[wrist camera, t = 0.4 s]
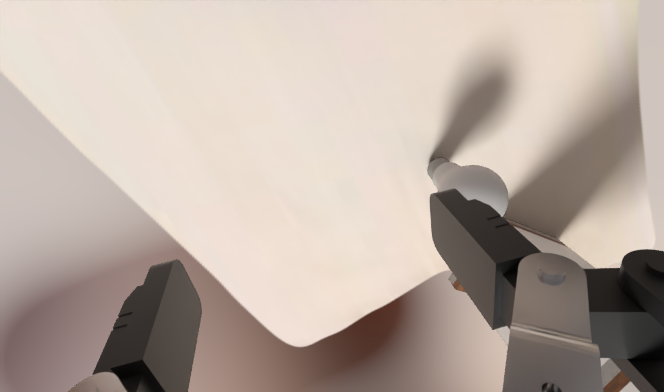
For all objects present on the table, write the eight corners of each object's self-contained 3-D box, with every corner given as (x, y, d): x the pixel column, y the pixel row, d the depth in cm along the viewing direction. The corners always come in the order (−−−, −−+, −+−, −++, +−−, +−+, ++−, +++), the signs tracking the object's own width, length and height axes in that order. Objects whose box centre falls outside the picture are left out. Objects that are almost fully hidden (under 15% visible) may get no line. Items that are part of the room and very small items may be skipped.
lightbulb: (469, 170, 42) (532, 219, 32) (423, 199, 43) (471, 256, 33) (448, 128, 39) (510, 168, 29) (399, 160, 40) (445, 210, 30)
